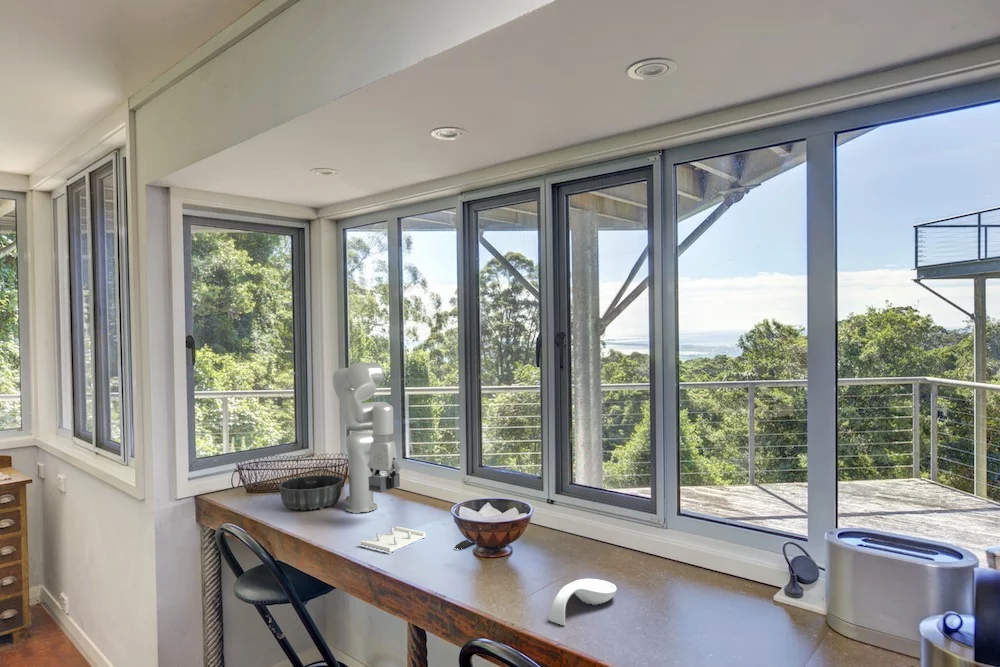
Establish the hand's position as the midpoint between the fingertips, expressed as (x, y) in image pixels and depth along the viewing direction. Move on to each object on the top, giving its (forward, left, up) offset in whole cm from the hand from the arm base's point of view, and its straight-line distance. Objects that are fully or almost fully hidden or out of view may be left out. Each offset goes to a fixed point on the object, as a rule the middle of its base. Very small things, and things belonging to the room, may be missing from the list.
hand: (384, 486), depth 227 cm
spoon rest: (+90, -22, -16) cm, 94 cm away
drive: (0, 0, -1) cm, 1 cm away
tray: (+14, -10, -15) cm, 23 cm away
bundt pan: (-48, +7, -16) cm, 51 cm away
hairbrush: (+40, +7, -16) cm, 43 cm away
